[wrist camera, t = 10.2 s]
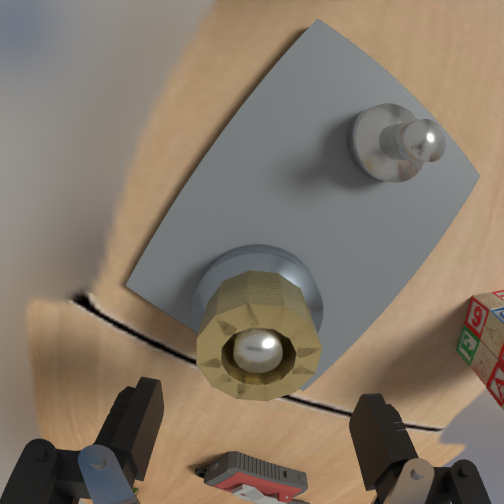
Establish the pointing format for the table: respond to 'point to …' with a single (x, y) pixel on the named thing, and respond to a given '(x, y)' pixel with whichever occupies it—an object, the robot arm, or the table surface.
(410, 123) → the silver knob
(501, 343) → the stack of blocks
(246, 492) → the walkie-talkie
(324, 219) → the board
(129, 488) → the robot arm
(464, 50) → the table surface
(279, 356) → the hub
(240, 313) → the brass ring
